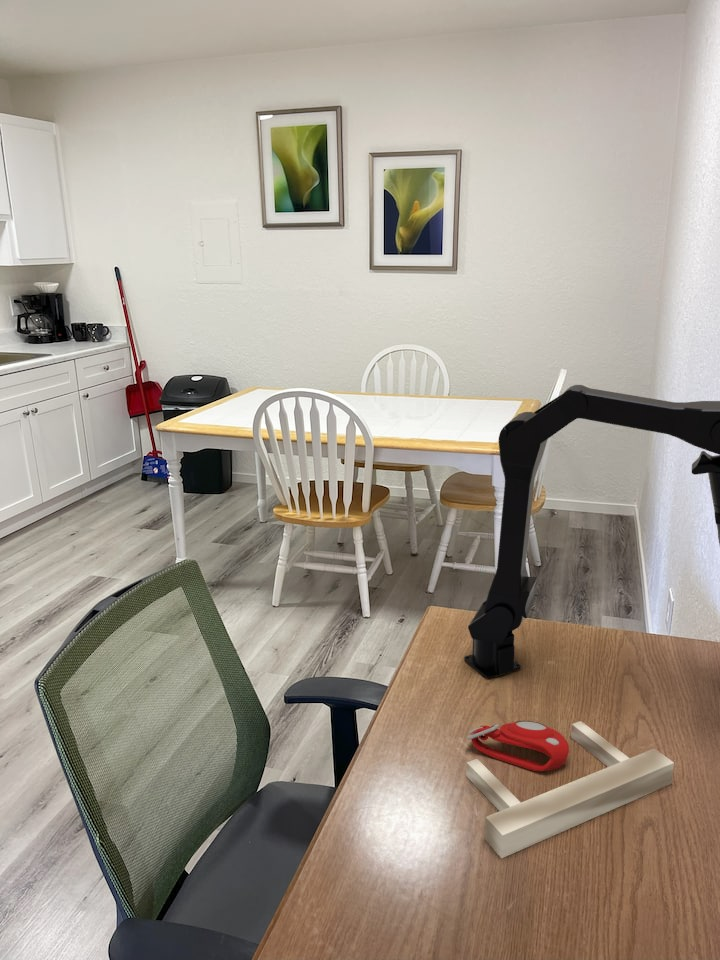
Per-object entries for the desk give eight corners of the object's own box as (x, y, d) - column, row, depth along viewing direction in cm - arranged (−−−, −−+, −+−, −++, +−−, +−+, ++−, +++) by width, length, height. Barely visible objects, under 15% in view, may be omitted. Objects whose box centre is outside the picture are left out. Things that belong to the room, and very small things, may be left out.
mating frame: (438, 786, 89) (438, 765, 88) (596, 727, 99) (598, 708, 98) (501, 858, 78) (502, 835, 77) (671, 783, 88) (674, 762, 88)
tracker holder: (532, 711, 101) (586, 734, 93) (530, 744, 101) (584, 770, 92) (461, 718, 96) (511, 743, 87) (458, 752, 96) (508, 780, 87)
